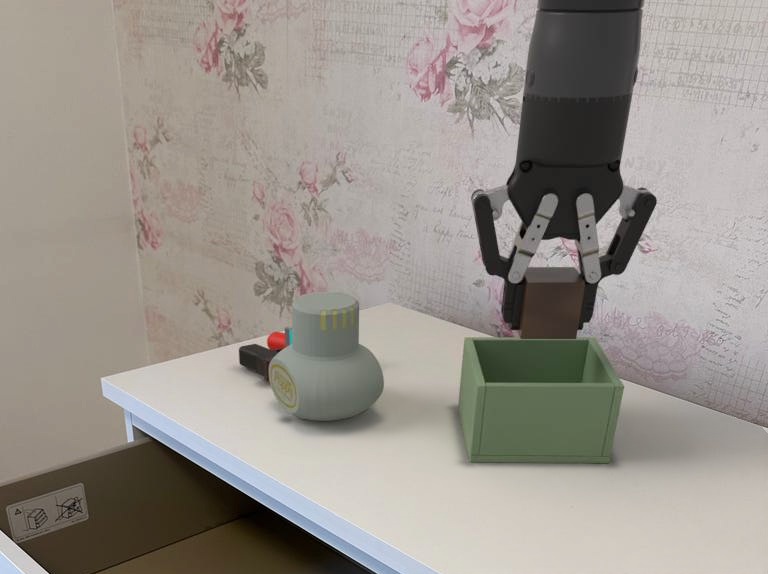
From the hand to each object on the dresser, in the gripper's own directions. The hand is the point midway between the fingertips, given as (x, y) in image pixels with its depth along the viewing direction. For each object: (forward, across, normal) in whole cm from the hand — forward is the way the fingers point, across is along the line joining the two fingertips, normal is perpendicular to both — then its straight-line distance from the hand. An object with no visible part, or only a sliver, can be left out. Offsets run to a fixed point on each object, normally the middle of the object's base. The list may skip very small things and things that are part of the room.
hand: (544, 326), depth 77 cm
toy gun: (+10, +21, -17) cm, 29 cm away
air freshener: (+10, +18, -5) cm, 21 cm away
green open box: (+9, 0, 0) cm, 9 cm away
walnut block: (0, 0, 0) cm, 0 cm away
